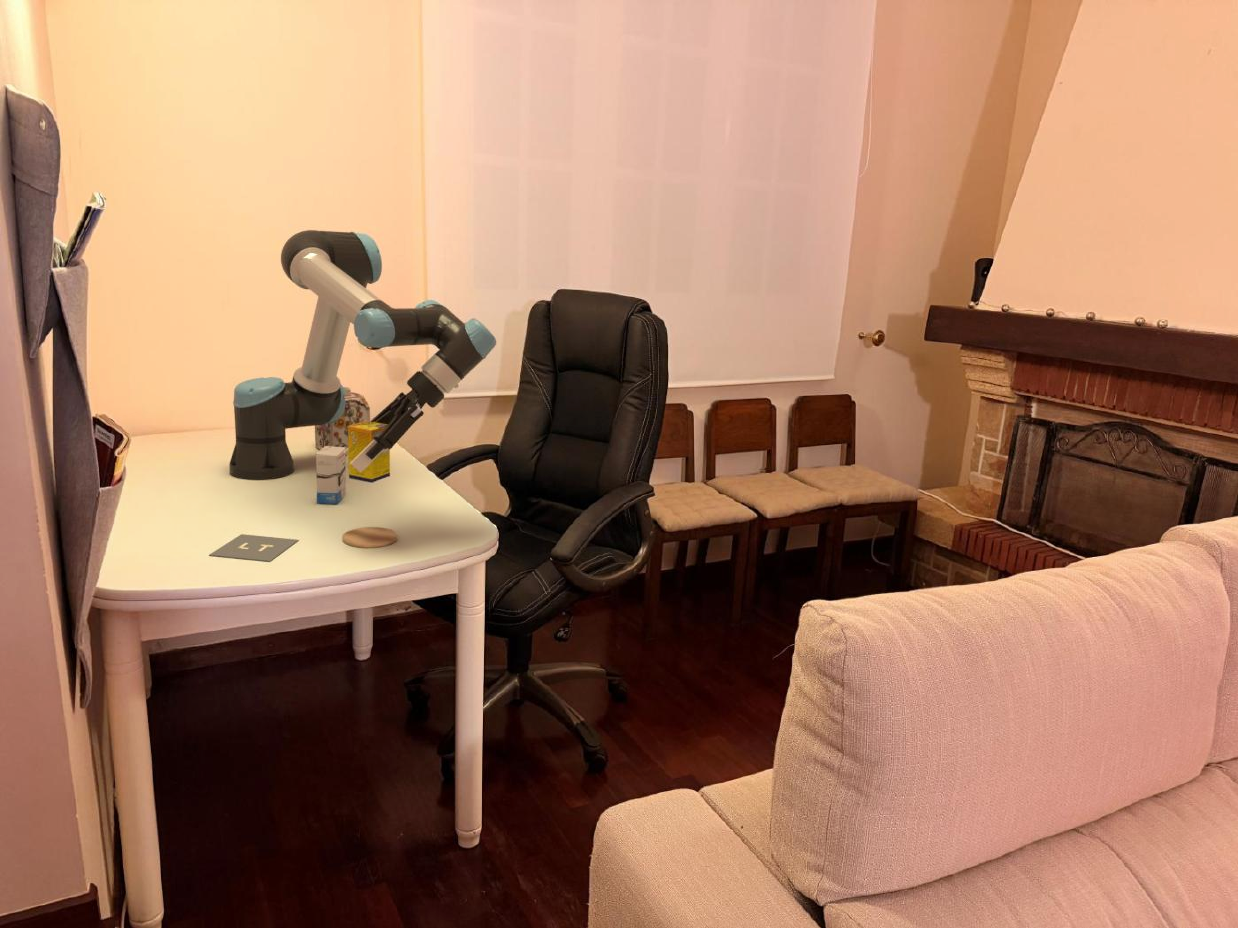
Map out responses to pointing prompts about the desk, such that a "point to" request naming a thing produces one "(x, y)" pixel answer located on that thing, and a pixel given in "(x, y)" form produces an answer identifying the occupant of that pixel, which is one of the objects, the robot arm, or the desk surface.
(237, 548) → the grey flat square slab
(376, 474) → the supplement box
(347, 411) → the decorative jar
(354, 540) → the coaster
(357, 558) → the desk surface
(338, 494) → the ink box
